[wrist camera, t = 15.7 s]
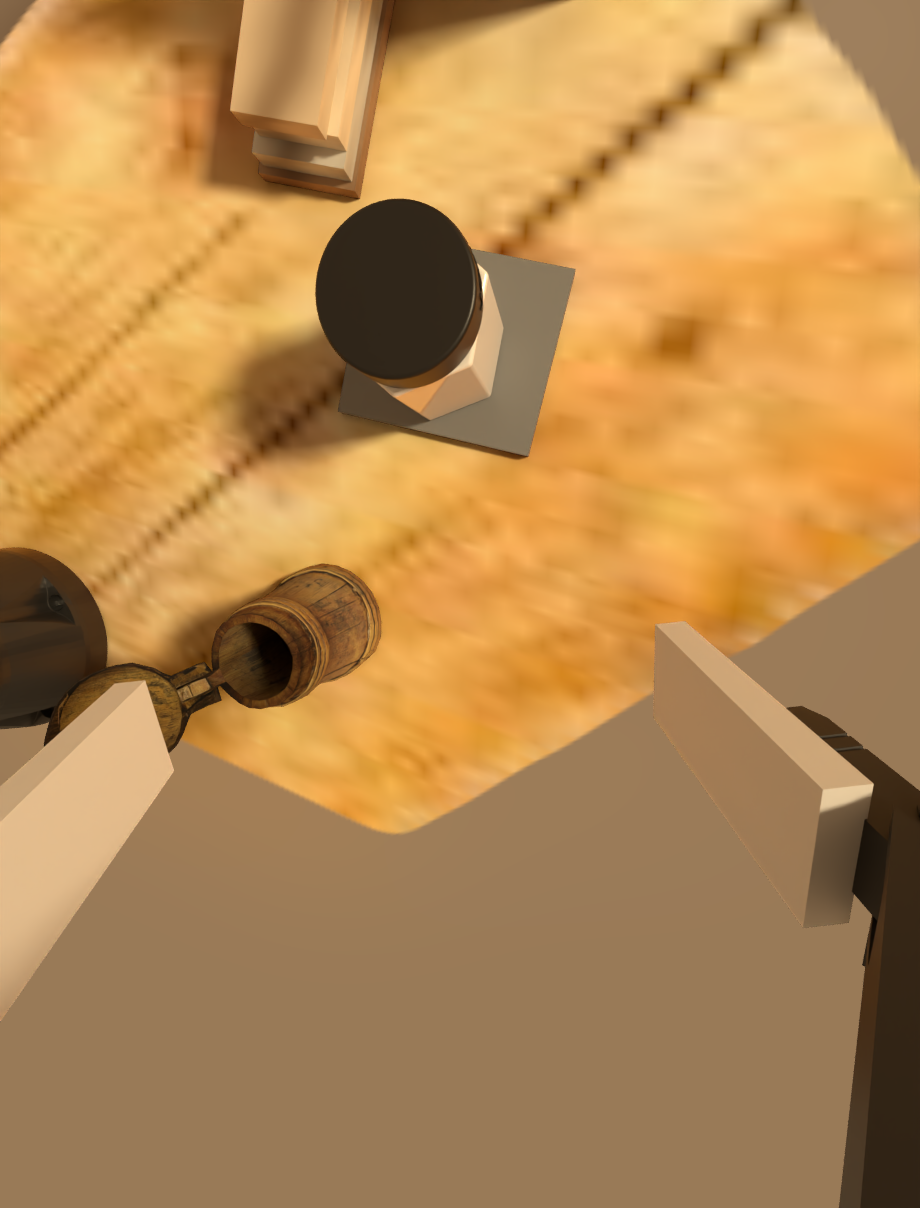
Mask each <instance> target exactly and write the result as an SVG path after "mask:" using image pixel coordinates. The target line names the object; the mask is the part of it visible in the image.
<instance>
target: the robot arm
mask: <svg viewBox="0 0 920 1208" xmlns="http://www.w3.org/2000/svg"><path fill="white" fill-rule="evenodd" d="M106 661H107V637H106V631H105V626H104V622H103V619H102V616H101V613H100V611H99V608H98V606H97V604H96V602H95V600H94V598H93V597H92V595H91V593H90V592H89V590H88V589H87V587H86V586H85V585H84V583H83V582H82V581H81V580H80V579H79V578H78V577H77V576H76V575H75V573H73V572H72V571H71V570H70V569H69V568H68V567H66V566H65V565H64V564H62V563H61V562H60V561H58V560H56V559H55V558H53V557H51V556H49V555H47V554H44V553H42V552H39V551H36V550H32V549H27V548H3V549H0V729H9V728H20V727H30V726H36V725H41V724H45V723H48V722H49V721H50V718H51V716H52V713H53V711H54V708H55V706H56V705H57V703H58V702H59V700H60V699H61V697H62V696H63V695H64V693H65V692H66V691H67V690H68V689H69V688H71V687H72V686H73V685H74V684H75V683H76V682H77V681H79V680H80V679H82V678H84V677H86V676H88V675H89V674H91V673H94V672H96V671H99V670H101V669H104V668H105V667H106ZM653 717H654V719H655V720H656V722H657V723H658V725H659V726H660V727H661V729H662V730H663V732H664V733H665V734H666V736H667V737H668V739H669V740H670V741H671V743H672V744H673V746H674V747H675V748H676V750H677V751H678V753H679V754H680V755H681V757H682V758H683V760H684V761H685V763H686V764H687V765H688V767H689V768H690V770H691V771H692V772H693V774H694V775H695V777H696V778H697V779H698V781H699V782H700V784H701V785H702V786H703V788H704V789H705V791H706V792H707V794H708V795H709V796H710V798H711V799H712V801H713V802H714V803H715V805H716V806H717V808H718V809H719V810H720V812H721V813H722V815H723V816H724V817H725V819H726V820H727V822H728V823H729V825H730V826H731V828H732V829H733V830H734V832H735V833H736V835H737V836H738V837H739V839H740V840H741V841H742V843H743V844H744V846H745V847H746V849H747V850H748V851H749V853H750V854H751V856H752V857H753V859H754V860H755V861H756V863H757V864H758V866H759V867H760V868H761V870H762V871H763V872H764V874H765V875H766V877H767V878H768V880H769V881H770V882H771V884H772V885H773V887H774V888H775V890H776V891H777V892H778V894H779V895H780V897H781V898H782V899H783V901H784V902H785V904H786V905H787V906H788V908H789V909H790V911H791V912H792V913H793V915H794V916H795V918H796V919H797V921H798V922H799V923H800V925H801V926H802V928H809V927H817V926H825V925H834V924H843V923H849V919H850V913H851V907H852V902H853V896H854V894H855V896H856V897H857V898H858V899H859V900H860V901H861V902H862V904H863V905H864V906H865V907H866V908H867V909H868V911H869V912H870V913H871V914H872V918H871V924H870V929H869V934H868V939H867V944H866V949H865V954H864V959H863V964H862V965H863V966H865V973H864V982H863V991H862V1001H861V1010H860V1019H859V1028H858V1038H857V1047H856V1056H855V1065H854V1075H853V1084H852V1093H851V1102H850V1111H849V1120H848V1130H847V1139H846V1148H845V1157H844V1167H843V1176H842V1185H841V1194H840V1203H839V1208H920V791H919V790H918V789H916V788H915V787H914V786H913V785H911V784H910V783H909V782H908V781H906V780H905V779H904V778H903V777H901V776H900V775H899V774H898V773H896V772H895V771H894V770H893V769H891V768H890V767H889V766H888V765H886V764H885V763H884V762H883V761H881V760H880V759H879V758H878V757H876V756H875V755H874V754H872V753H871V752H870V751H869V750H867V749H863V746H862V745H861V744H860V743H859V742H857V741H856V740H855V739H854V738H852V737H851V736H847V733H846V732H845V731H843V730H842V729H841V728H840V727H838V726H837V725H836V724H835V723H833V722H832V721H831V720H830V719H828V718H827V717H824V716H822V715H820V714H818V713H816V712H814V711H811V710H809V709H807V708H805V707H802V706H798V707H789V708H785V707H784V706H783V705H781V704H780V703H779V702H778V701H777V700H776V699H774V698H773V697H772V696H771V695H770V694H769V693H768V692H766V691H765V690H764V689H763V688H762V687H761V686H759V685H758V684H757V683H756V682H755V681H754V680H753V679H751V678H750V677H749V676H748V675H747V674H746V673H744V672H743V671H742V670H741V669H739V667H737V666H736V665H735V664H734V663H733V662H731V661H730V660H729V659H728V658H727V657H726V656H725V655H723V654H722V653H721V652H720V651H719V650H718V649H716V648H715V647H714V646H713V645H712V644H711V643H709V642H708V641H707V640H706V639H705V638H704V637H703V636H701V635H700V634H699V633H698V632H697V631H696V630H694V629H693V628H692V627H691V626H690V625H689V624H687V623H686V622H685V621H682V622H672V623H663V624H655V663H654V710H653ZM173 772H174V769H173V766H172V763H171V760H170V757H169V754H168V751H167V747H166V744H165V741H164V738H163V735H162V732H161V729H160V725H159V722H158V719H157V716H156V713H155V710H154V707H153V703H152V700H151V697H150V694H149V691H148V688H147V685H146V681H145V680H143V681H134V682H125V683H116V684H114V685H113V686H112V687H111V688H109V689H108V690H107V691H106V692H105V693H104V694H103V695H102V696H101V697H99V698H98V699H97V700H96V701H95V702H94V703H93V704H92V705H90V706H89V707H88V708H87V709H86V710H85V711H84V712H83V713H82V714H80V715H79V716H78V717H77V718H76V719H75V720H74V721H73V722H71V723H70V724H69V725H68V726H67V727H66V728H65V729H64V730H63V731H61V732H60V733H59V734H58V735H57V736H56V737H55V738H54V739H52V740H51V741H50V742H49V743H48V744H47V745H46V746H45V747H44V748H42V749H41V750H40V751H39V752H38V753H37V754H36V755H35V756H33V757H32V758H31V759H30V760H29V761H28V762H27V763H26V764H25V765H23V766H22V767H21V768H20V769H19V770H18V771H17V772H16V773H14V774H13V775H12V776H11V777H10V778H9V779H8V780H7V781H6V782H5V783H3V784H2V785H1V786H0V1021H1V1020H2V1019H3V1017H4V1016H5V1014H6V1013H7V1011H8V1010H9V1008H10V1007H11V1005H12V1004H13V1003H14V1001H15V1000H16V998H17V997H18V995H19V994H20V993H21V991H22V990H23V988H24V987H25V985H26V984H27V982H28V981H29V980H30V978H31V977H32V975H33V974H34V972H35V971H36V969H37V968H38V966H39V965H40V964H41V962H42V961H43V959H44V958H45V956H46V955H47V954H48V952H49V951H50V949H51V948H52V946H53V945H54V943H55V942H56V940H57V939H58V938H59V936H60V935H61V933H62V932H63V931H64V929H65V928H66V926H67V925H68V923H69V922H70V920H71V919H72V918H73V916H74V915H75V913H76V911H77V910H78V909H79V907H80V906H81V905H82V903H83V902H84V900H85V899H86V897H87V896H88V894H89V893H90V891H91V890H92V889H93V887H94V886H95V884H96V883H97V881H98V880H99V878H100V877H101V876H102V874H103V873H104V871H105V870H106V868H107V867H108V866H109V864H110V863H111V861H112V860H113V858H114V857H115V855H116V854H117V852H118V851H119V850H120V848H121V847H122V845H123V844H124V842H125V841H126V840H127V838H128V837H129V835H130V834H131V832H132V831H133V829H134V828H135V826H136V825H137V824H138V822H139V821H140V819H141V818H142V816H143V815H144V814H145V812H146V811H147V809H148V808H149V806H150V805H151V803H152V802H153V801H154V799H155V798H156V796H157V795H158V793H159V792H160V790H161V789H162V787H163V786H164V784H165V783H166V782H167V780H168V779H169V777H170V776H171V775H172V773H173Z"/></svg>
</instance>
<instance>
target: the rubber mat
mask: <svg viewBox="0 0 920 1208" xmlns="http://www.w3.org/2000/svg"><path fill="white" fill-rule="evenodd" d="M471 250H472V252H473V254H474V257H475V259H476V262H477V264H479V265H480V266H481V267H482V268H483V269H484V270H485V271H487V273H488V275H489V279H490V282H491V286H492V289H493V292H494V296H495V299H496V303H497V306H498V310H499V313H500V316H501V320H502V323H503V327H504V328H503V334H502V339H501V344H500V350H499V355H498V360H497V366H496V371H495V376H494V382H493V387H492V392H491V395H490V397H488V398H486V399H483V400H481V401H478V402H476V403H473V404H471V405H468V406H465V407H463V408H460V409H458V410H455V411H453V412H450V413H448V414H445V415H443V416H440V417H438V418H435V419H433V420H428V419H426V418H425V417H423V416H422V415H420V414H419V413H417V412H416V411H414V410H412V409H411V408H409V407H408V406H406V405H405V404H403V403H402V402H400V401H399V400H397V399H395V398H394V397H392V396H391V395H390V394H389V393H388V392H387V391H386V390H384V389H383V388H382V387H381V386H380V385H379V384H378V383H377V382H375V381H373V380H371V379H370V378H368V377H367V376H365V375H364V374H362V373H361V372H359V371H358V370H356V369H355V368H353V367H352V366H350V365H349V364H348V363H347V364H346V370H345V375H344V381H343V386H342V392H341V397H340V403H339V408H338V412H341V413H344V414H348V415H352V416H357V417H361V418H365V419H369V420H374V421H378V422H382V423H386V424H391V425H395V426H399V427H403V428H408V429H412V430H416V431H421V432H425V433H429V434H433V435H438V436H442V437H446V438H450V439H455V440H459V441H463V442H467V443H472V444H476V445H480V446H484V447H489V448H493V449H497V450H501V451H506V452H510V453H514V454H518V455H523V456H527V457H528V456H529V452H530V448H531V444H532V440H533V436H534V432H535V429H536V425H537V421H538V417H539V413H540V409H541V405H542V401H543V397H544V393H545V389H546V385H547V381H548V377H549V374H550V370H551V366H552V362H553V358H554V354H555V350H556V346H557V342H558V338H559V334H560V330H561V326H562V322H563V319H564V315H565V311H566V307H567V303H568V299H569V295H570V291H571V287H572V283H573V279H574V275H575V269H572V268H567V267H562V266H557V265H552V264H547V263H541V262H536V261H531V260H526V259H521V258H516V257H511V256H506V255H500V254H495V253H490V252H485V251H480V250H475V249H471Z"/></svg>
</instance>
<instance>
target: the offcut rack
mask: <svg viewBox="0 0 920 1208" xmlns="http://www.w3.org/2000/svg"><path fill="white" fill-rule="evenodd" d="M394 1H395V0H244V5H243V13H242V21H241V29H240V36H239V44H238V52H237V60H236V68H235V75H234V83H233V91H232V99H231V107H230V111H231V112H232V114H233V115H234V116H235V117H236V118H237V120H238V121H239V122H240V123H241V124H242V126H248V127H253V128H254V129H255V132H254V139H253V146H252V153H253V154H254V155H255V157H256V158H257V159H258V160H259V161H260V162H259V169H258V173H259V175H260V176H261V177H262V178H263V179H264V180H265V181H268V182H274V183H279V184H284V185H289V186H295V187H300V188H305V189H311V190H316V191H321V192H327V193H332V194H337V195H342V196H348V197H353V198H358V199H360V194H361V189H362V183H363V177H364V171H365V166H366V160H367V154H368V149H369V143H370V137H371V132H372V126H373V120H374V115H375V109H376V103H377V98H378V92H379V86H380V80H381V75H382V69H383V63H384V58H385V52H386V46H387V41H388V35H389V29H390V24H391V18H392V12H393V7H394Z"/></svg>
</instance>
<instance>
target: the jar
mask: <svg viewBox="0 0 920 1208" xmlns="http://www.w3.org/2000/svg"><path fill="white" fill-rule="evenodd" d="M315 295H316V306H317V312H318V316H319V320H320V323H321V326H322V329H323V331H324V333H325V335H326V337H327V339H328V341H329V343H330V344H331V346H332V347H333V348H334V350H335V351H336V352H337V354H338V355H339V356H340V357H341V358H342V359H343V360H344V361H345V362H347V363H348V364H349V365H350V366H352V367H353V368H355V369H356V370H358V371H359V372H361V373H362V374H364V375H365V376H367V377H368V378H370V379H371V380H373V381H375V382H377V383H378V384H379V385H380V386H381V387H382V388H383V389H384V390H386V391H387V392H388V393H389V394H390V395H391V396H392V397H394V398H395V399H397V400H399V401H400V402H402V403H403V404H405V405H406V406H408V407H409V408H411V409H412V410H414V411H416V412H417V413H419V414H420V415H422V416H423V417H425V418H426V419H428V420H433V419H435V418H438V417H440V416H443V415H445V414H448V413H450V412H453V411H455V410H458V409H460V408H463V407H465V406H468V405H471V404H473V403H476V402H478V401H481V400H483V399H486V398H488V397H490V395H491V392H492V387H493V382H494V376H495V371H496V366H497V360H498V355H499V350H500V344H501V339H502V334H503V328H504V327H503V323H502V320H501V316H500V313H499V310H498V306H497V303H496V299H495V296H494V292H493V289H492V286H491V282H490V279H489V275H488V273H487V271H485V270H484V269H483V268H482V267H481V266H480V265H479V264H477V262H476V259H475V257H474V254H473V252H472V250H471V248H470V246H469V245H468V242H467V241H466V239H465V238H464V236H463V235H462V233H461V232H460V230H459V229H458V228H457V226H456V225H455V224H454V223H453V222H452V221H451V220H450V219H449V218H448V217H447V216H445V215H444V214H443V213H441V212H440V211H438V210H437V209H435V208H433V207H431V206H429V205H427V204H425V203H422V202H419V201H415V200H409V199H389V200H383V201H379V202H376V203H373V204H370V205H368V206H366V207H364V208H362V209H361V210H359V211H357V212H356V213H354V214H353V215H352V216H350V217H349V218H348V219H347V220H346V221H345V222H344V223H343V224H342V225H341V226H340V227H339V228H338V229H337V231H336V232H335V233H334V235H333V236H332V238H331V239H330V241H329V242H328V244H327V246H326V248H325V250H324V253H323V255H322V258H321V261H320V264H319V267H318V272H317V278H316V292H315Z"/></svg>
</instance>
